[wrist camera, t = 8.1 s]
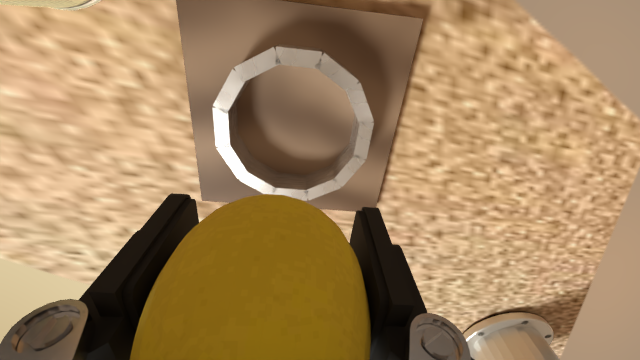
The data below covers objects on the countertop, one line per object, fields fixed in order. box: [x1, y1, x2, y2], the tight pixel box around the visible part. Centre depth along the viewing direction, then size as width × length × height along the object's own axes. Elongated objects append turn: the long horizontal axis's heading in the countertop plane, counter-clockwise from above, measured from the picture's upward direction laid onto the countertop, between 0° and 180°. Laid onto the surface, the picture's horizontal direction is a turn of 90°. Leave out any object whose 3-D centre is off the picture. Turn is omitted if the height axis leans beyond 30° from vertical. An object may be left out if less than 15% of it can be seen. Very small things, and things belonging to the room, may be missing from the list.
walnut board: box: [176, 0, 423, 211], centre depth 22 cm, size 16×16×1 cm
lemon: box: [130, 194, 371, 360], centre depth 7 cm, size 6×6×8 cm
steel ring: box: [212, 44, 374, 201], centre depth 20 cm, size 11×11×2 cm
